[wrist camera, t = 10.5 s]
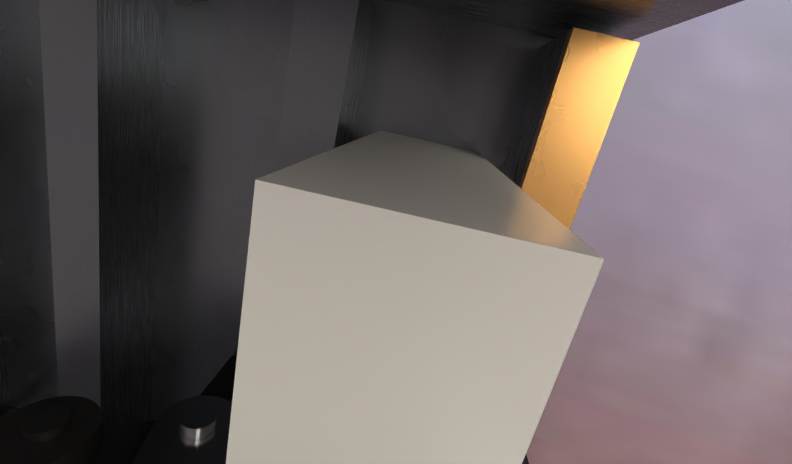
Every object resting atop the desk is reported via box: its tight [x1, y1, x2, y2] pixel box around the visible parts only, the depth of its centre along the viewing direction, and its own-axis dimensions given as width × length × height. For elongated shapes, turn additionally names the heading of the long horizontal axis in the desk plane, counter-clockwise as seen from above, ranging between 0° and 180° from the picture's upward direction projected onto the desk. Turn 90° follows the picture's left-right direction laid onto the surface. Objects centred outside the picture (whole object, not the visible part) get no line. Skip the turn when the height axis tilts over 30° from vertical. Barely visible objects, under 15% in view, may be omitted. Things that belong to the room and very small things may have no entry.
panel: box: [226, 130, 604, 464], centre depth 9 cm, size 12×3×9 cm, turn 168°
